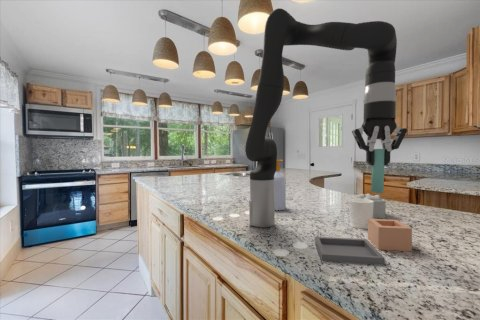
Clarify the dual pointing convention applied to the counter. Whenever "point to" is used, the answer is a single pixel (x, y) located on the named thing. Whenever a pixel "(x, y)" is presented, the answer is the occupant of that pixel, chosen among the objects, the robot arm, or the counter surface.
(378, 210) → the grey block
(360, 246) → the tray
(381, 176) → the dowel
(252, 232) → the counter surface
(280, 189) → the soap bottle
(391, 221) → the pot
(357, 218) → the white cup
